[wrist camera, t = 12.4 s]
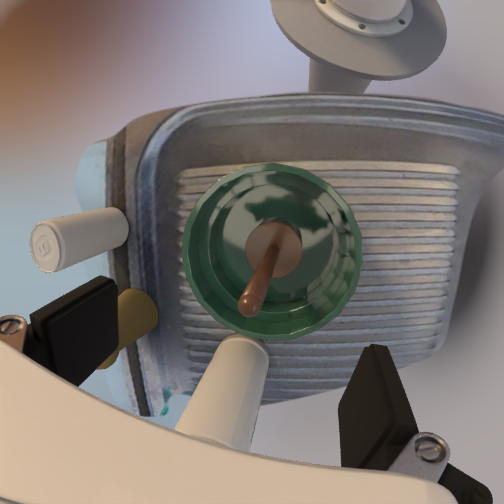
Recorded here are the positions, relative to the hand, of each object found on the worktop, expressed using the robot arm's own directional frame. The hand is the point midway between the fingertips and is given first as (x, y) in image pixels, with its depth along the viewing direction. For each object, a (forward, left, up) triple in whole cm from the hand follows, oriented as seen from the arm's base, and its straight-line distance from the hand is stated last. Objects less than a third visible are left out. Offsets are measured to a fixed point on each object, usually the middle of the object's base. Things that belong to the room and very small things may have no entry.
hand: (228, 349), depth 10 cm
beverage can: (+2, -19, -21) cm, 28 cm away
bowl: (0, 0, -21) cm, 21 cm away
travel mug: (+14, -1, -21) cm, 25 cm away
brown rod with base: (0, 0, -20) cm, 20 cm away
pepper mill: (+12, -15, -21) cm, 29 cm away
